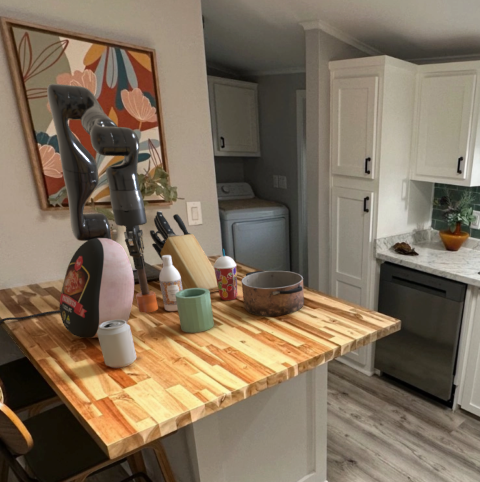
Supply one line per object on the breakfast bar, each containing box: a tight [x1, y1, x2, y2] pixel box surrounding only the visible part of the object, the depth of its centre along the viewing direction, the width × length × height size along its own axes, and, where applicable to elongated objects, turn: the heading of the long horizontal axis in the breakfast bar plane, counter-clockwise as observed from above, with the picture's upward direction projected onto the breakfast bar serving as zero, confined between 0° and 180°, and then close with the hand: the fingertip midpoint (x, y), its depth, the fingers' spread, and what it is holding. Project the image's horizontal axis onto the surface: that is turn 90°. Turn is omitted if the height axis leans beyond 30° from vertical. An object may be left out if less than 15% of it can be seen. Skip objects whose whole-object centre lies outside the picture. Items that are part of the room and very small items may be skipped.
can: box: [97, 320, 137, 369], centre depth 111 cm, size 8×8×12 cm
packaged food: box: [59, 238, 135, 339], centre depth 126 cm, size 22×20×30 cm
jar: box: [175, 288, 215, 333], centre depth 135 cm, size 10×10×12 cm
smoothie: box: [213, 248, 239, 301], centre depth 160 cm, size 8×8×20 cm
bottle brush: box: [133, 250, 159, 314], centre depth 119 cm, size 5×5×18 cm
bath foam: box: [158, 255, 183, 312], centre depth 148 cm, size 7×7×20 cm
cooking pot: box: [241, 270, 305, 317], centre depth 156 cm, size 30×22×11 cm
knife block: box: [149, 210, 219, 293], centre depth 170 cm, size 11×35×31 cm, turn 54°
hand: (140, 267), depth 118 cm, fingers closed on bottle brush
